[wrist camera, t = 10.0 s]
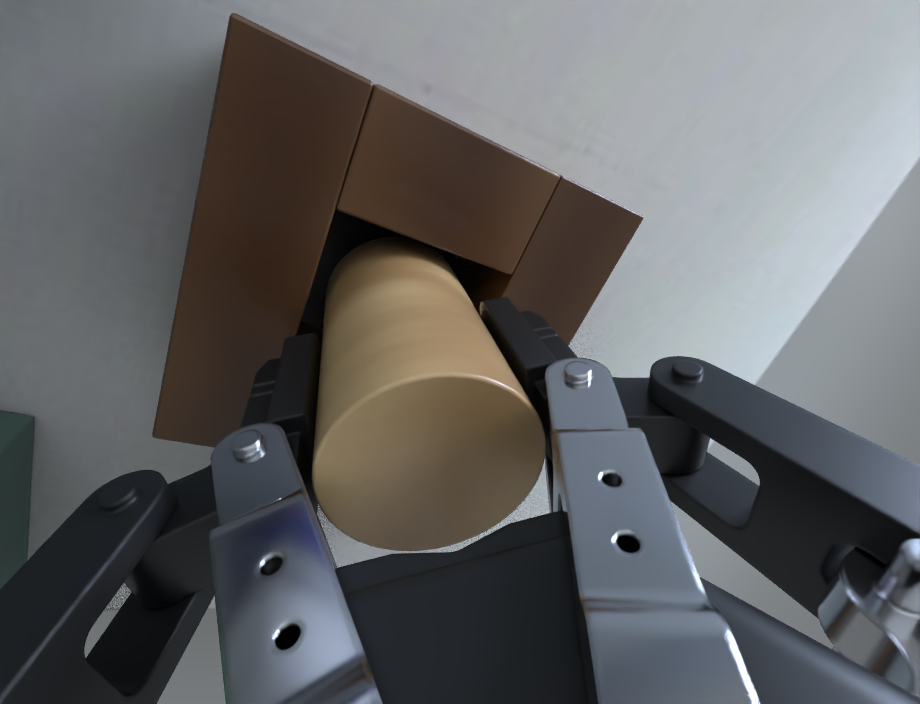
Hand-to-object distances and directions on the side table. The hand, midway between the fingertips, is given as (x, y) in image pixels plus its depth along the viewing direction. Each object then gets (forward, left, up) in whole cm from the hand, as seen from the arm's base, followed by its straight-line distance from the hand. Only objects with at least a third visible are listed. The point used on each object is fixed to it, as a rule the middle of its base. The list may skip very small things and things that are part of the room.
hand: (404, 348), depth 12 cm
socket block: (0, 0, -5) cm, 5 cm away
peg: (0, 0, -3) cm, 3 cm away
